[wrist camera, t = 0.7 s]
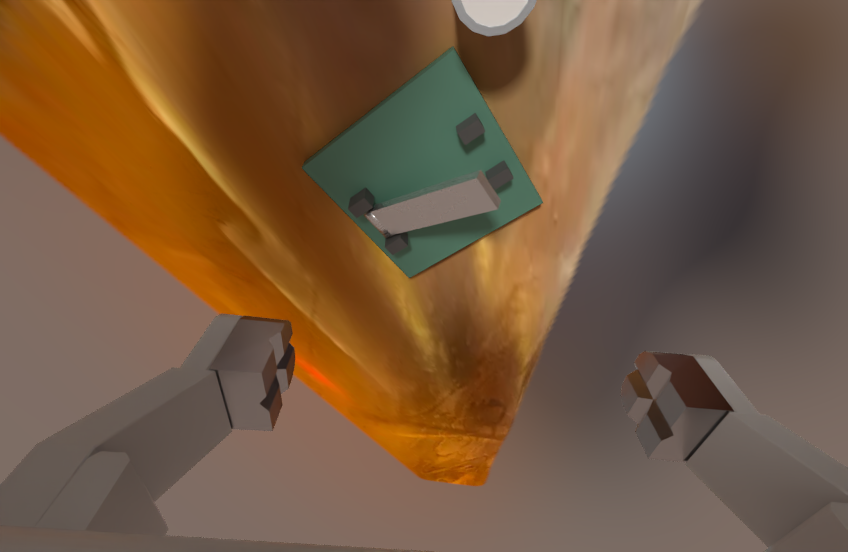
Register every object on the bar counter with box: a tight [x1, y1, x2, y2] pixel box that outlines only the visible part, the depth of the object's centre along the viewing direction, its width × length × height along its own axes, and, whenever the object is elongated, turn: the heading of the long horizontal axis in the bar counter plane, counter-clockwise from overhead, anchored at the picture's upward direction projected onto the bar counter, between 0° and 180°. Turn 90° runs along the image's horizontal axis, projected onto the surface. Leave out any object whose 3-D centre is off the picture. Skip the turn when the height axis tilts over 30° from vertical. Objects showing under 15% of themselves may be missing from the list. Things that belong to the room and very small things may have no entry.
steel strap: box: [363, 169, 501, 238], centre depth 43 cm, size 4×16×2 cm, turn 125°
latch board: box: [302, 46, 543, 278], centre depth 46 cm, size 20×20×4 cm
